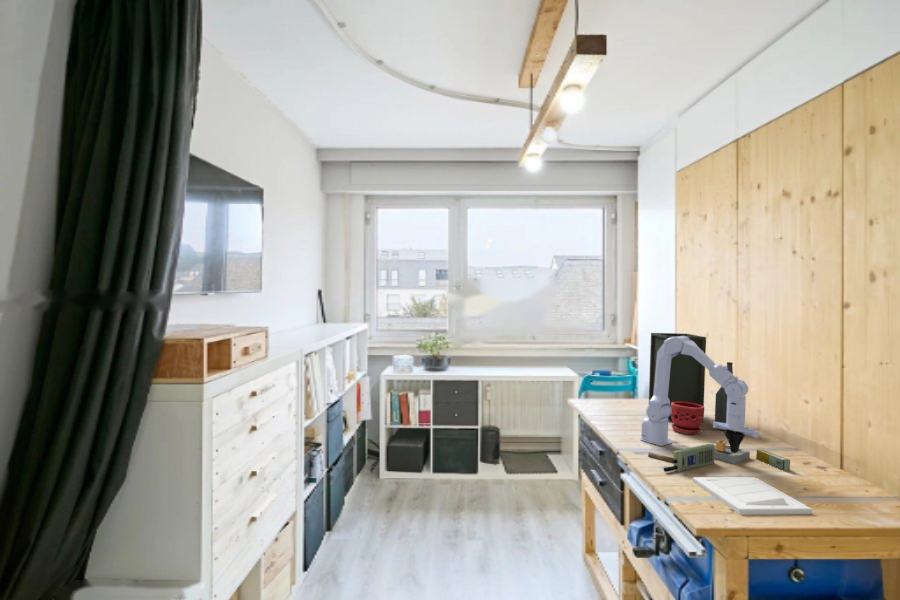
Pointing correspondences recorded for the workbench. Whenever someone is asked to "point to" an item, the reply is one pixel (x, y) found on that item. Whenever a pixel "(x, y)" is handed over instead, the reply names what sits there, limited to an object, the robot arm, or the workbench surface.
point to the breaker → (720, 445)
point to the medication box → (773, 460)
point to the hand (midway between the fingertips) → (734, 452)
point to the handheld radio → (692, 458)
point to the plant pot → (687, 417)
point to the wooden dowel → (660, 457)
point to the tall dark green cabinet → (680, 371)
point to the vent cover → (750, 496)
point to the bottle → (722, 401)
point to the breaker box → (731, 455)
